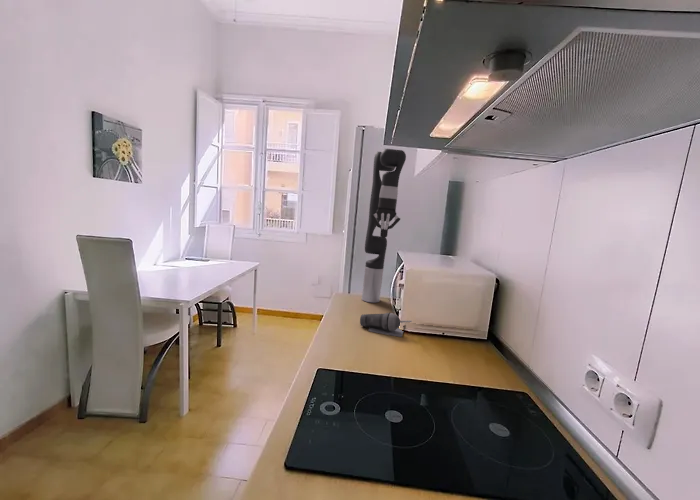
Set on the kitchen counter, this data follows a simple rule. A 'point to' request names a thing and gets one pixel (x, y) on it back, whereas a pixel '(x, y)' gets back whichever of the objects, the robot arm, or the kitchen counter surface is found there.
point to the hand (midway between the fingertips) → (383, 238)
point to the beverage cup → (381, 321)
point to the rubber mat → (387, 332)
